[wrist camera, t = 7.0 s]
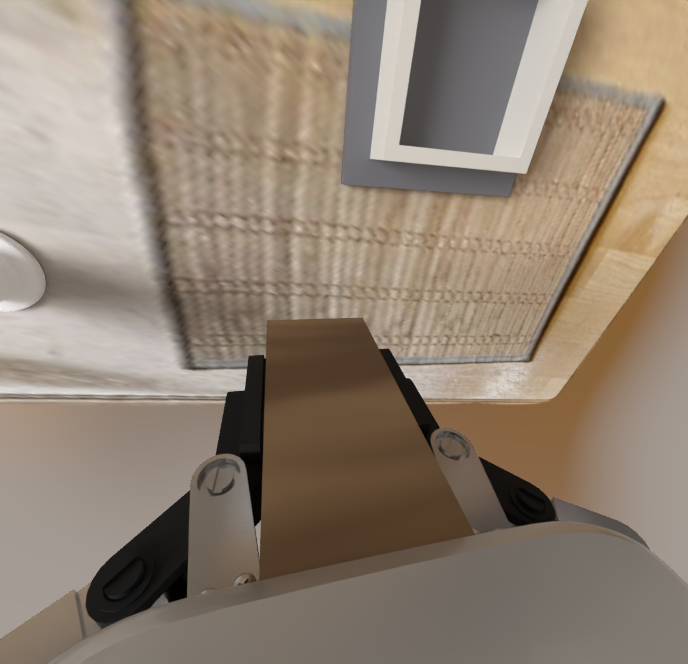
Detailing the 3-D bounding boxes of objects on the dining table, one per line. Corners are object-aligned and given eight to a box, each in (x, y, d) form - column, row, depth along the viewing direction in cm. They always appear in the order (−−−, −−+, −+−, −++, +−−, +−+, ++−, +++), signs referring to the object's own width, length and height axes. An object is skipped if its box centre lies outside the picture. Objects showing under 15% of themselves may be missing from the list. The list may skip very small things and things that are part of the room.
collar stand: (362, -125, 17) (388, -207, 13) (583, -56, 20) (656, -105, 16) (340, 183, 25) (353, 189, 21) (500, 195, 29) (536, 202, 25)
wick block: (267, 320, 12) (257, 619, 4) (362, 317, 13) (490, 562, 5) (271, 393, 14) (270, 679, 6) (353, 387, 15) (435, 632, 7)
